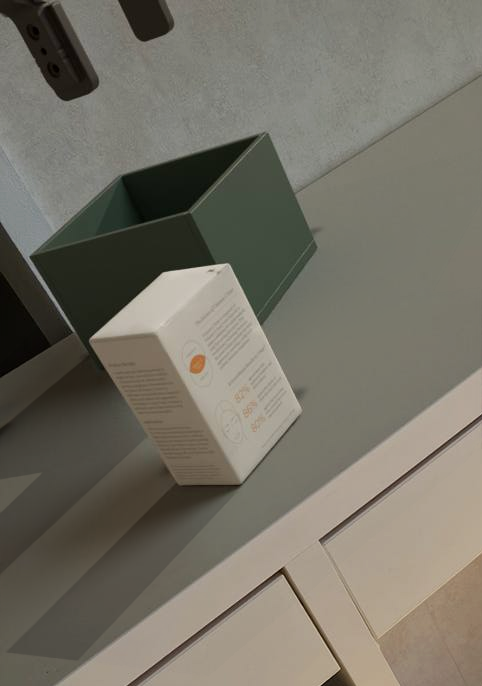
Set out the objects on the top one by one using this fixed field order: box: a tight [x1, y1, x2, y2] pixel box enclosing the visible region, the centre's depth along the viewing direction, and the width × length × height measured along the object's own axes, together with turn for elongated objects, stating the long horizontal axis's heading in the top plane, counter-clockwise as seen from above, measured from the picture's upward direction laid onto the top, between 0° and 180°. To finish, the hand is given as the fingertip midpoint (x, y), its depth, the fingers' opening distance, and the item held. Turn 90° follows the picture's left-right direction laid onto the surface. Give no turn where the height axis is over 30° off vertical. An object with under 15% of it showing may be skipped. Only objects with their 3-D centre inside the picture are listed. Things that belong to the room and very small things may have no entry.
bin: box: [28, 131, 319, 370], centre depth 85 cm, size 15×15×10 cm
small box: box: [89, 264, 303, 486], centre depth 64 cm, size 8×6×10 cm
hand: (121, 64), depth 53 cm, fingers open, 8 cm apart
